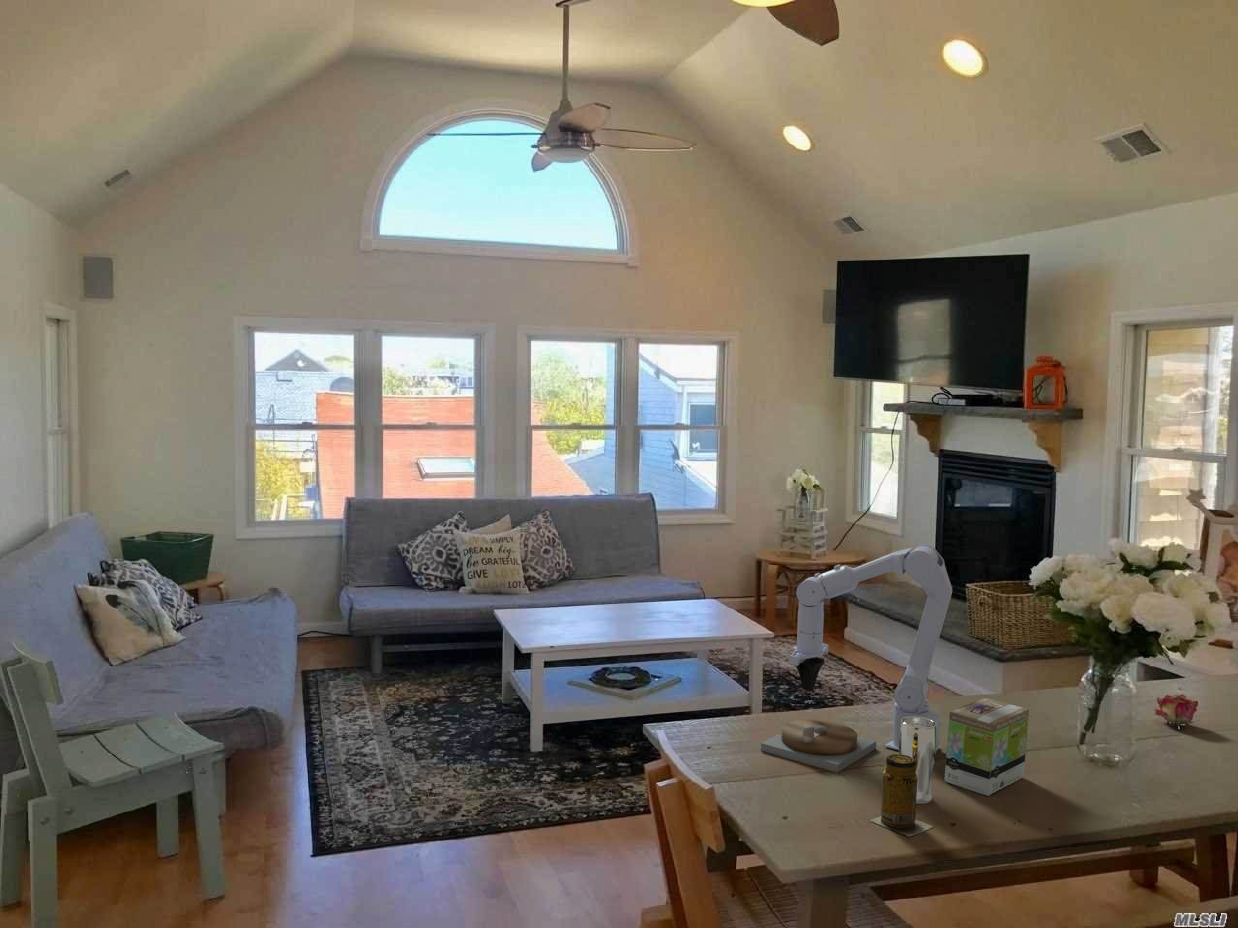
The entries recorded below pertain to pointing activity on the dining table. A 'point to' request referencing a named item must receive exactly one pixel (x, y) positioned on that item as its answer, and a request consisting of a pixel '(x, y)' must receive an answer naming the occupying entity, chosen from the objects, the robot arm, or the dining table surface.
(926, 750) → the beer glass
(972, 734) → the tea box
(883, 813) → the condiment
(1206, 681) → the dining table surface
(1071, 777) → the dining table surface
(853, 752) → the base plate
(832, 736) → the handwheel
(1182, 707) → the flower
